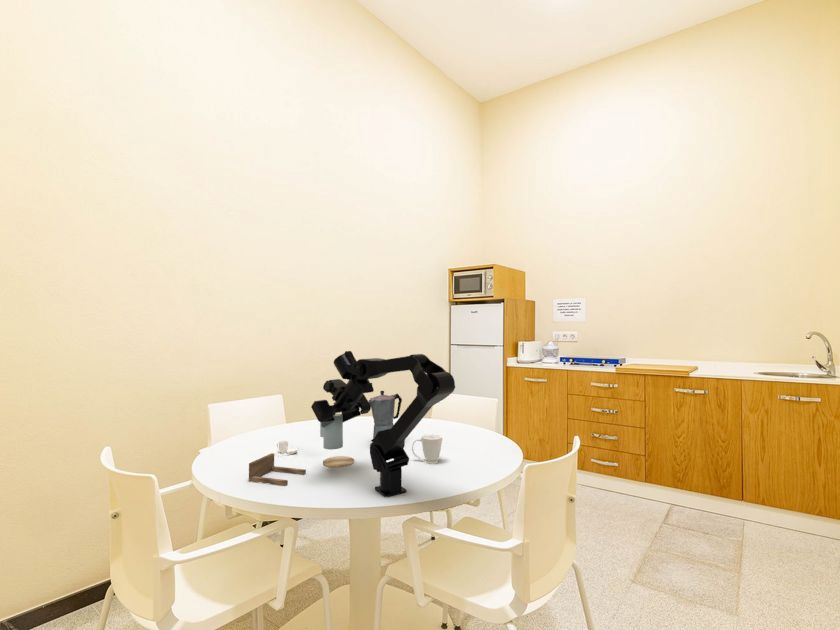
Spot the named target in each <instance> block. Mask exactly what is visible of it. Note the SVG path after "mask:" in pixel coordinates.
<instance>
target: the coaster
mask: <svg viewBox="0 0 840 630" xmlns="http://www.w3.org/2000/svg"><path fill="white" fill-rule="evenodd" d="M354 463H355V459H354V458H353V457H351V456H344V455H337V456H331V457H326V458H325V459H324V460H322V465H323V466H325V467H328V468H346V467H350V466H352V465H353V464H354Z"/></svg>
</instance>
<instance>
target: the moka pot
mask: <svg viewBox="0 0 840 630" xmlns="http://www.w3.org/2000/svg"><path fill="white" fill-rule="evenodd" d="M396 399H398V402H397V411H396V414H395V408H396V407H395V406H396V404H395V403H396ZM402 401H403V399H402V397H401V395H400V394H399V393H396V394H391V395H388V394H385V390H380V395H377V396H373V397H370V398H369V400H368V402H369V403H370V405H371V414H372V419H373V423H374V425H373V433H372V435H373V436H372V439H374V438H375V436H376V434H377V433H378V432H379V431H382V430H386V429H390V428H392V427H393V425H394V424H395V423H394V420H395V419H399V417H400V416H399V415H400V411H401V406H402Z"/></svg>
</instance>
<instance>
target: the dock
mask: <svg viewBox="0 0 840 630" xmlns="http://www.w3.org/2000/svg"><path fill="white" fill-rule="evenodd" d="M271 472H276V473H283V474H284V473H285V474H291V475H292V474H294V475H301V476H302V475H303V476H304V475H306V474H307V469H302V468H296V467H295V468H294V467H284V466H277V465H276V466H275V455H274V453H272V452H271V453H269V454H267V455H263V457H260V458H258V459H256V460H253V461H251V462H249V463H248V482H250V481H253V482H252V483H258V482H262V483H261V484H266V483H270V484H269V485H274V484H275V485H276V486H284V487H286V486H288V483H289V482H288V481H289V480H288V479H281V478H274V477H273V478H272V477H265V474H266V475H268V474H270V473H271ZM263 475H264V476H263ZM261 476H262V477H261Z"/></svg>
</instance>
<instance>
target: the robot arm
mask: <svg viewBox="0 0 840 630" xmlns="http://www.w3.org/2000/svg"><path fill="white" fill-rule="evenodd" d="M333 365H334V367H335V369H336V370H337V372H338V373H339V375H340V377H341V378H340V379H339V378H338V379H337V378H335V379H328V380H326V381H325V382H324V384H323V387H322V389H323V391H325V393H329V394H331V395H332V397H331V399H332V401H333V404H332V405H330V403H329V401H328V400H327V399H320V400H315V401H313V403H312V404H311V406H310V407H311V409H312V412H313V413H314V415H315V417H316V419H317V421H318V422H321V426H322V427H325V426H327V425H328V424H330V423H331V422H333V421H335V419H334V417H333V416H334V415H335V414H342V415H343V423H345V422H347V421H350V420H351V419H354V418H356V417H359V416H361V415H365V414H369V412H370V411H372V409H371V405H370V403H369V402H368V401H369V400H368V399H367V398H366V395H365V394H369V393H374V386H373V382H370V380H373V379H378V378H379V379H380V378H381V377H385V376H386V375H388V374H389V373H390V374H391V373H397V372H407V371H410V372H411V374H412V378H413V381H414V382H415V384H416V385H417V388H416V395H415V397H414V398H413V400H412V401H411V402H410V404H409V405H408V406H407V408H406V409H404V411H403V413H402V414H401V415H400V416H399V417H398V418H397V420H396V421H395V423H393V424H394V425H393V427H392V428H390V429H386V430H382V431H379V432H378V433H377V434H376V436H375V438H374V439H373V438H372V439H371V440H370V441H371V444H370V446H369V455H370V460H371V464H372V469H373V470H374V471H376V472H377V473H379V485H378V486H375V487H374V489H375V491H377V492H378V493H379V494H381V495H382V496H384V497H391V496H396V495H399V494H403V493H406V492H407V489H406V488H405V487H403V486H402V485H403V484H402V483H403V482H402V480H403V479H402V477H403V476H402V475H403V474H402V473H403V472H402V467H405V466H406V467H407V466H408V465H409V462H410V458H409V456H408V454H407V453H406V451H405V449H404V448H405V446H406V445H405V443H406V441H405V440H406V439H407V438H408V437H409V435H410V434H411V433H412V432H413V430H414V429H416V427H417V426H418V424H419V423H420V422H421V421H422V419H423V418H424V417H425V416H426V415H427V414H428V412H429V411H430V410H431V409H432V408H433V407H434V406H435V405H436V404H438V403H440V402H441V401H443V400H445V399H446V398H447V397H448V396H450V395H451V394H452V393H453V392H455V389H456V383H455V382H456V381H455V378H454V376H453V375H452V374H451V373H450V372H448V371H446V370H445V369H444V368H443V367H442V366H440V365H438V364H437V363H435V362H433V361H432V360H431V359H430V358H429V357H428V356H427V355H425V354H423V353H416V354H410V355H407V356H402V357H401V356H399V357H394V358H388V359H385V358H381V357H380V358H378V357H375V358H373V357H372V358H361V359H358V360H357V359H356V357H355V356H354V354H353V351H351V350H346V351H345V352H343V353H342V354H340V355H338V356H337V357H336V358H334V360H333ZM342 379H343V380H348V381H347V382H345V381H343V380H342Z"/></svg>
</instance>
